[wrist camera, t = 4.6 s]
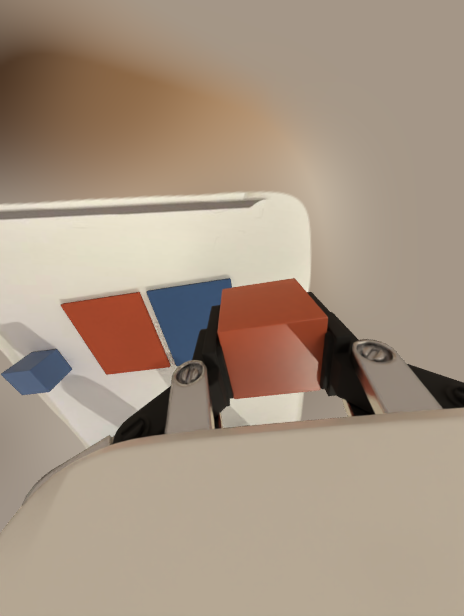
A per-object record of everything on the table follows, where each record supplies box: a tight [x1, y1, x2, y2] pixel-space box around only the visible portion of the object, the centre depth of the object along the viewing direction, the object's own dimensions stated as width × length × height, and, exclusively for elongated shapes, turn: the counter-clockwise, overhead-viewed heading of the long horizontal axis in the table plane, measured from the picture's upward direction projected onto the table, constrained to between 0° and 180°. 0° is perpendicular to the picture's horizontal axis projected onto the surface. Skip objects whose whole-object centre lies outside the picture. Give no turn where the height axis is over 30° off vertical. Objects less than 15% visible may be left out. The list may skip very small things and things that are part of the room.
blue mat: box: [147, 278, 232, 366], centre depth 24 cm, size 12×10×1 cm
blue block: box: [1, 349, 72, 395], centre depth 25 cm, size 4×4×4 cm
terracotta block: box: [217, 278, 328, 399], centre depth 9 cm, size 4×4×4 cm
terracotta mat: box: [61, 292, 170, 375], centre depth 25 cm, size 12×10×1 cm
